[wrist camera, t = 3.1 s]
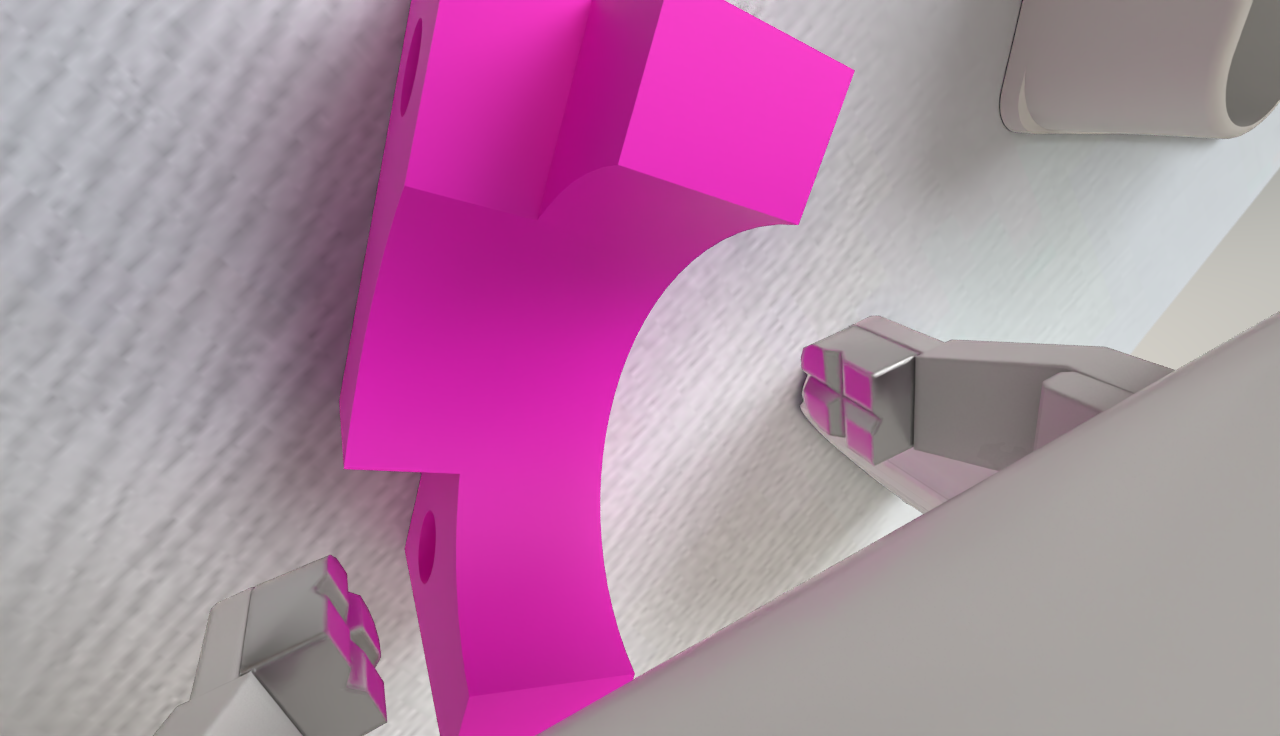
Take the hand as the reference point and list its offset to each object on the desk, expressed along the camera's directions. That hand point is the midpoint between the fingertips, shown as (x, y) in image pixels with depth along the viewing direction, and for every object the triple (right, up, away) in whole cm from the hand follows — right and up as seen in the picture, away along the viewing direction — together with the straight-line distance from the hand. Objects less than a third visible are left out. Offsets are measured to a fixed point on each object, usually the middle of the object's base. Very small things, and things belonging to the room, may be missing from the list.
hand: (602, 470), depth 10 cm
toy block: (-4, +3, +7) cm, 9 cm away
